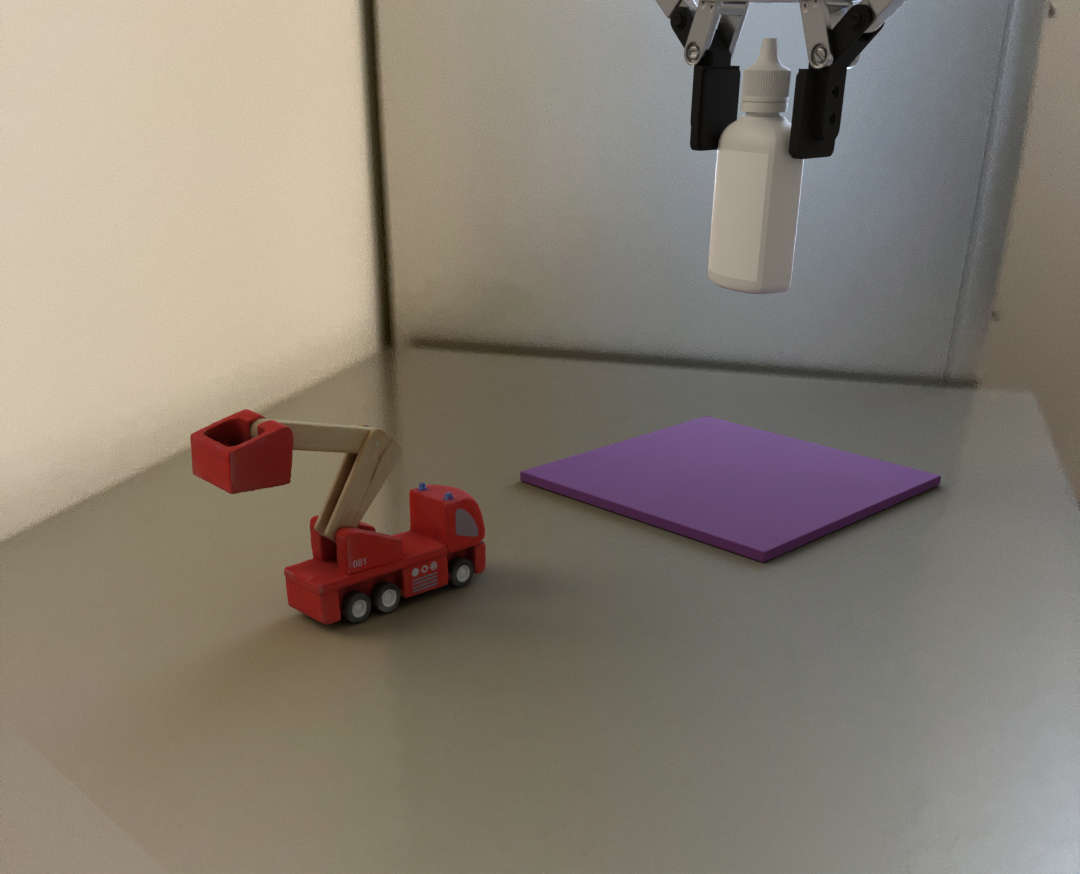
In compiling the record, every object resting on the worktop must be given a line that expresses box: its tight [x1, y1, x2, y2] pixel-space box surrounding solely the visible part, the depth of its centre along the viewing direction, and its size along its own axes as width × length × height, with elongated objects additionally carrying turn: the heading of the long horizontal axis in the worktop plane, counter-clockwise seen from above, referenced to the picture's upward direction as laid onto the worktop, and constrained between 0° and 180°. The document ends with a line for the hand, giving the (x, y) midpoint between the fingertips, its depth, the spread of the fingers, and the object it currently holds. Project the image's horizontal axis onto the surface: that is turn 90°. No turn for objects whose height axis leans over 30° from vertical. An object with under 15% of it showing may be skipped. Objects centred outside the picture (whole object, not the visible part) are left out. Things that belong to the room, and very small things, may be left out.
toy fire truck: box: [189, 408, 487, 626], centre depth 54 cm, size 3×14×10 cm, turn 133°
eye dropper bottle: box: [707, 37, 805, 295], centre depth 63 cm, size 4×6×12 cm
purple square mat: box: [519, 415, 942, 563], centre depth 72 cm, size 18×18×1 cm
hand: (760, 149), depth 63 cm, fingers closed on eye dropper bottle, 5 cm apart
